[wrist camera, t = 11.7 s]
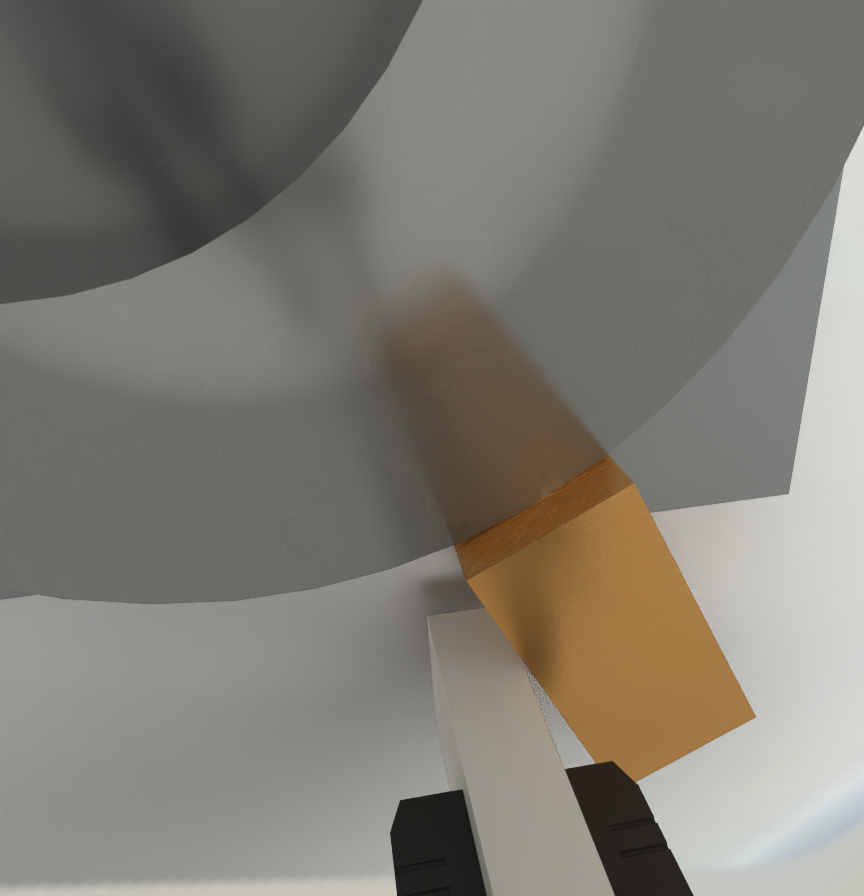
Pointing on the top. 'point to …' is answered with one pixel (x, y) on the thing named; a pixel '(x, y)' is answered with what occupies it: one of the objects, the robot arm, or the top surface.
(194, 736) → the top surface
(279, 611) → the top surface
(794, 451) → the base plate
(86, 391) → the turntable
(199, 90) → the dark grey bowl
